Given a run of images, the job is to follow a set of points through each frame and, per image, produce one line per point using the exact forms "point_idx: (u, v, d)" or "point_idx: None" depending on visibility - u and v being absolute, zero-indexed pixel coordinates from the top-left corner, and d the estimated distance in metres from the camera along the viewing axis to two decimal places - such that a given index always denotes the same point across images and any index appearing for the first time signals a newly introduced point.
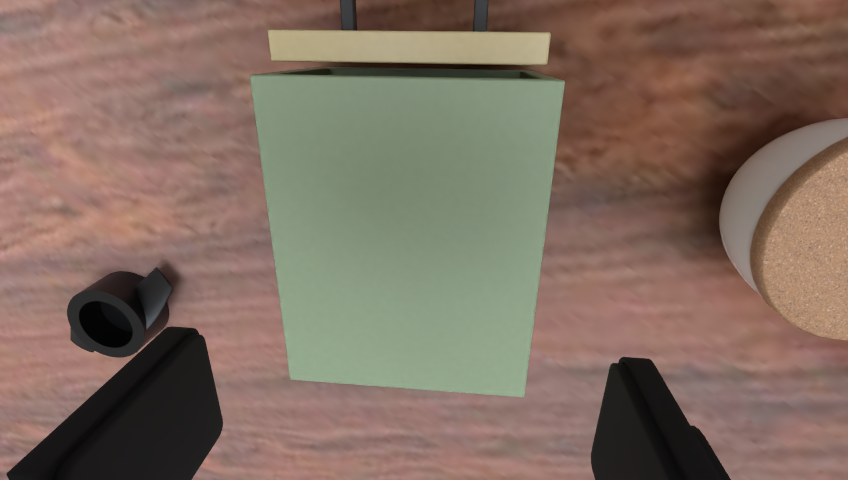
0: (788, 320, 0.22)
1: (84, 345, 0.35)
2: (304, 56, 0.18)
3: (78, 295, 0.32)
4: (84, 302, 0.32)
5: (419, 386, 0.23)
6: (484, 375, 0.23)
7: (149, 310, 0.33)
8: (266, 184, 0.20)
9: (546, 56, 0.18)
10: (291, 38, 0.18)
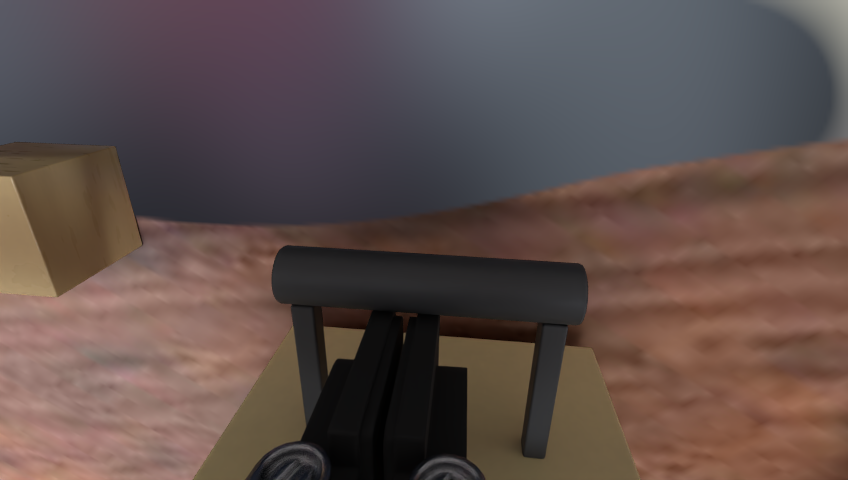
0: None
1: None
2: None
3: None
4: None
5: None
6: None
7: None
8: None
9: None
10: None
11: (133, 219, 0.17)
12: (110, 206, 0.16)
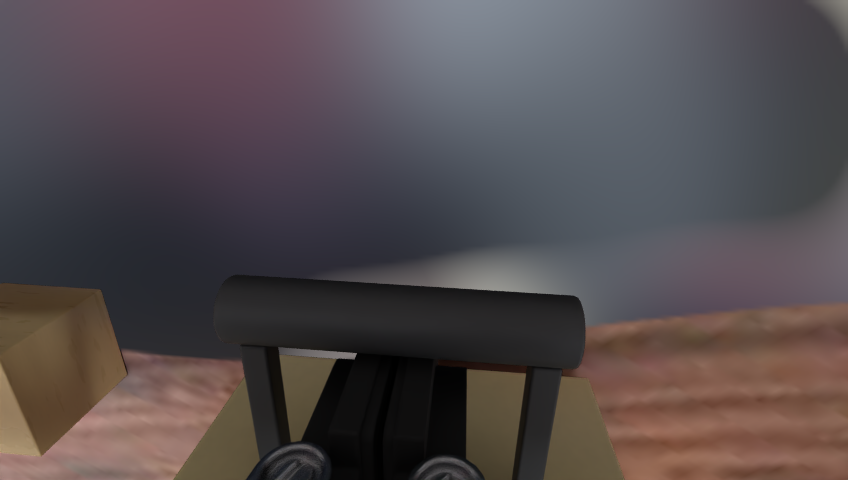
0: None
1: None
2: None
3: None
4: None
5: None
6: None
7: None
8: None
9: None
10: None
11: (118, 353, 0.17)
12: (95, 349, 0.16)
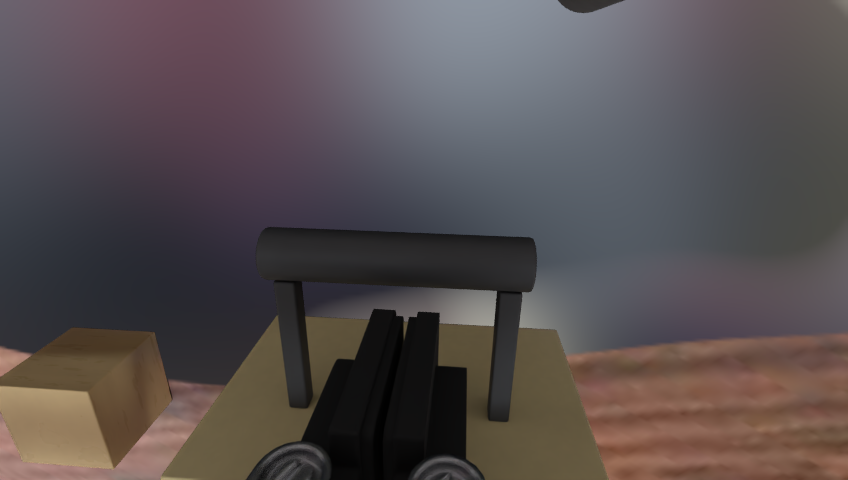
0: None
1: None
2: None
3: None
4: None
5: None
6: None
7: None
8: None
9: None
10: None
11: (166, 383, 0.21)
12: (150, 381, 0.20)
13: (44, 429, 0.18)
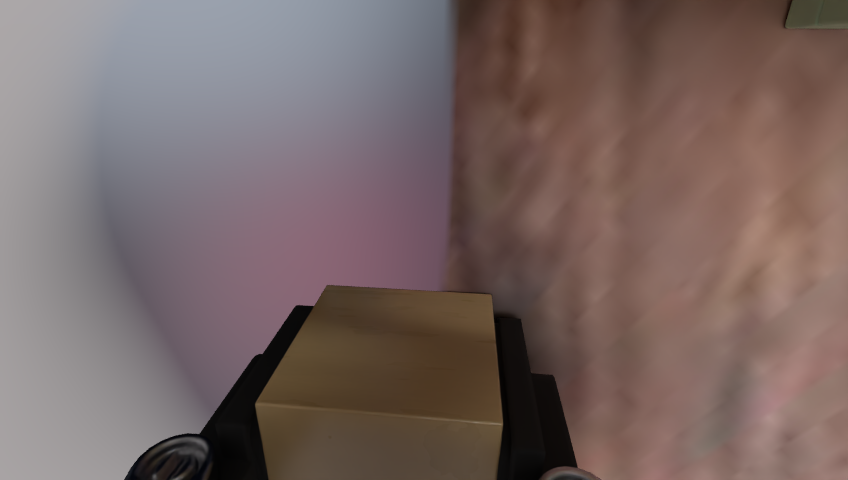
0: None
1: None
2: None
3: None
4: None
5: None
6: None
7: None
8: None
9: None
10: None
11: (442, 293, 0.10)
12: (401, 311, 0.10)
13: None
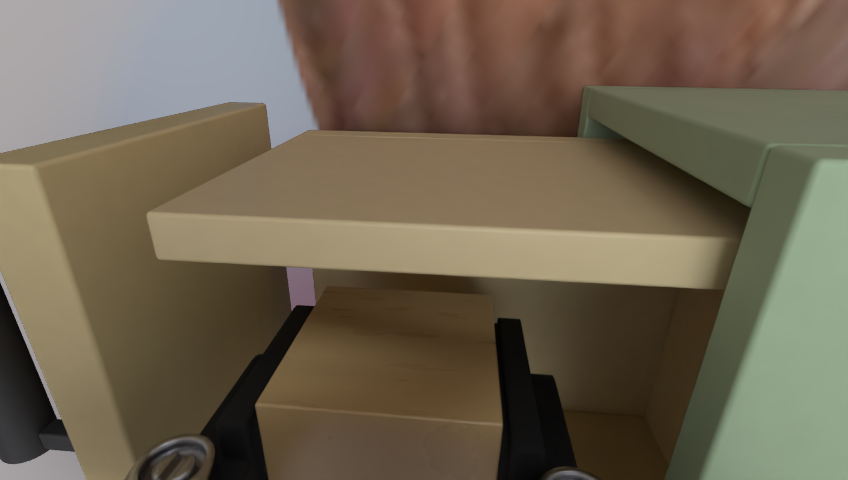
0: None
1: None
2: None
3: None
4: None
5: None
6: None
7: None
8: None
9: (10, 170, 0.06)
10: None
11: (442, 293, 0.10)
12: (401, 311, 0.10)
13: None
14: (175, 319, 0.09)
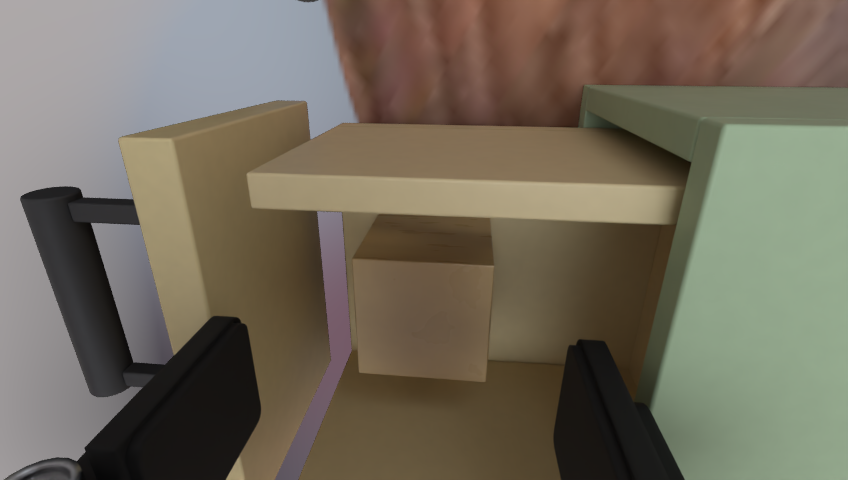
0: None
1: None
2: None
3: None
4: None
5: None
6: None
7: None
8: None
9: (156, 142, 0.09)
10: None
11: None
12: (430, 223, 0.15)
13: (422, 333, 0.13)
14: (246, 267, 0.12)
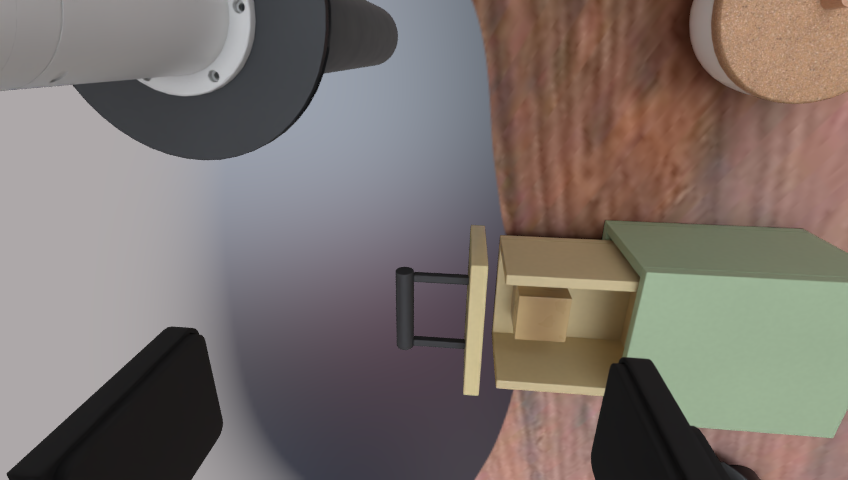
0: None
1: None
2: (476, 380, 0.34)
3: None
4: None
5: None
6: None
7: None
8: None
9: (483, 267, 0.30)
10: (467, 385, 0.35)
11: None
12: None
13: (542, 323, 0.35)
14: None
